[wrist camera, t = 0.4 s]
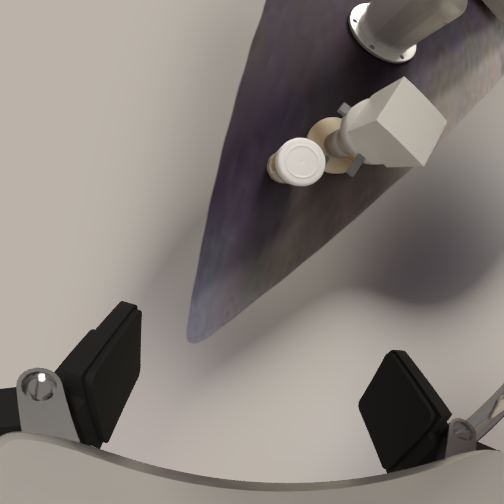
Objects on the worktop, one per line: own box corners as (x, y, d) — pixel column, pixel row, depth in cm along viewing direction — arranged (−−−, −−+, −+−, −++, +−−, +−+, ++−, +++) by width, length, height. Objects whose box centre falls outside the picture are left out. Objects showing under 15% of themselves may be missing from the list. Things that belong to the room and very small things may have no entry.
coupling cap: (353, 87, 23) (392, 58, 14) (410, 137, 24) (460, 129, 16) (309, 149, 24) (337, 136, 16) (371, 199, 26) (417, 209, 17)
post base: (325, 108, 34) (356, 83, 23) (368, 143, 36) (411, 132, 24) (294, 150, 36) (316, 138, 24) (339, 184, 37) (377, 188, 26)
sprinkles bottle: (279, 144, 36) (296, 127, 23) (305, 164, 36) (336, 157, 23) (259, 171, 37) (266, 166, 24) (286, 190, 37) (307, 196, 24)
